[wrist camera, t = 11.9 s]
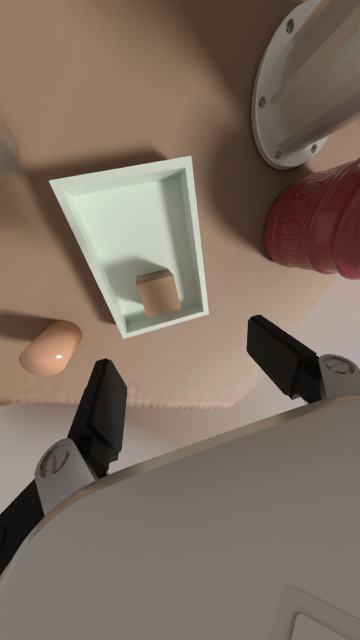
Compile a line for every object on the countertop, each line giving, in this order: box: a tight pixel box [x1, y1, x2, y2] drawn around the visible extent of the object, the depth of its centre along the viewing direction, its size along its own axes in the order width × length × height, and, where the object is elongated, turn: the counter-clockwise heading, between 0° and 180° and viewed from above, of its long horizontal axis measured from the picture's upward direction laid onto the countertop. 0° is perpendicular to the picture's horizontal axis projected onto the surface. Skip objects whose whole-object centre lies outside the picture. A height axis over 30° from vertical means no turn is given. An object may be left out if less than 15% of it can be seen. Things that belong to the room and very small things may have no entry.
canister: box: [264, 158, 360, 280], centre depth 19 cm, size 13×13×18 cm
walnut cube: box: [136, 268, 181, 318], centre depth 23 cm, size 5×5×5 cm
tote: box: [49, 156, 209, 339], centre depth 22 cm, size 15×20×4 cm
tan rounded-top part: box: [19, 321, 82, 376], centre depth 23 cm, size 5×5×7 cm
